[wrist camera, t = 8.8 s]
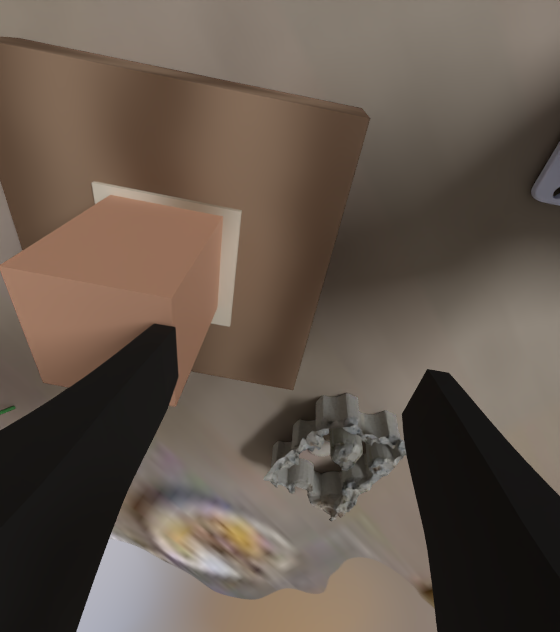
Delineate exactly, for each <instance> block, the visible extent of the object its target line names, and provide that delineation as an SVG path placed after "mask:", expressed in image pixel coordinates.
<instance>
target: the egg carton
mask: <svg viewBox="0 0 560 632" xmlns="http://www.w3.org/2000/svg"><path fill="white" fill-rule="evenodd" d="M329 429H330V442H329V441H325V440H324V437H323V436H324V435H328V434H329ZM362 441H363V442H366V453H365V454H364V455H362V454H363V448H362ZM306 449H308V450H309V452H310V453H311V454H313V455H316V456H328V455H331V459H332V461H333V462H335V463H336V464H338V465H340V467H341V469H342V471H341V472H335V471H330V472H326V473H323V474H320V473H318V472H315V471H314V465H313V463H312V462H310V461H308V460H305V459H299V454H300V453H301V452H302V451H304V450H306ZM404 455H406V450H405V442H404V441H403V440H401V439H400V434H399V430H398V424H397V420H396V415H395V414H393V413H391V412H389V411H386V410H385V411H383V412H381V413H378V414H365V413H362V412H360V411H359V407H358V398H357V397H355V396H353V395H351V394H348V393H345V394H343V395H341V396H337V397H328V396H324V395H323V396H321V397H320V398H319V399H318V400H317V402H316V420H313V421H304V420H298V421H297V422H296V423H295V424H294V425H293V434H292V442H282V441H277V442H276V443H275V444H274V446H273V453H272V462H271V469H270V471H269V472H268V474H267V475H266V476H265V477H264V480H266V481H270V482H271V483H272V484H273V485H274V486H275V487H278V485H282V486H285V487H286V488H287V489H288V490H289V492H290V493H294V492H295V486H296V487H299V488H302V489H306V490H307V491H308V498H309V501H310V503H311V504H312V505H313V506H314V507H316V508H318V509H321V510H322V509H323V510H324V511H325V512H326V513H328V514H330V515H331V518H330V519H329V520H330V521H332V520H335V519H336V518H337V516H339V517H340V518H341V517H342V516H343V515H344V514H345V512H349V511H350V510H351V509H352V508H353V506H354V505H356V502H357V497H358V496H359V495H360V494H361V493H364V492H367V491H369V490H370V489H371V487H372V485H373V484H374V483H375V482H376V481H378V480H379V479H380V478H381V477H383V476H386V475H388V474H389V473H390V472H391V471H392V469H393V468H394V467H395V466H396V465H397V463H398V462H399V460H401V459H402V458H403V457H404Z"/></svg>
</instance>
